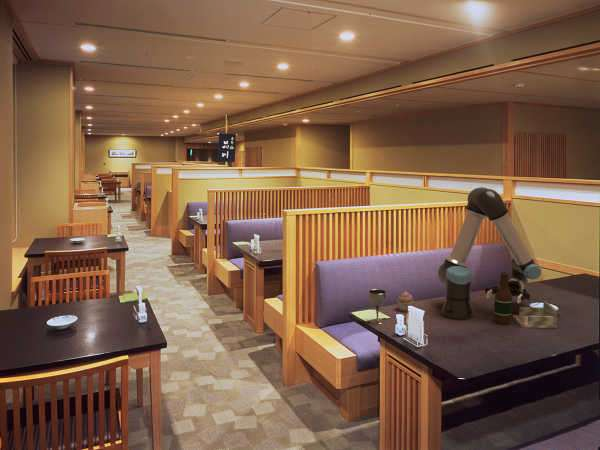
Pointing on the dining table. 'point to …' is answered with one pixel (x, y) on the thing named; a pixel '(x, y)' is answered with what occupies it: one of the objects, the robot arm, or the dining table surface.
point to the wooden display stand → (537, 316)
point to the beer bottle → (503, 302)
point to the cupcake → (405, 301)
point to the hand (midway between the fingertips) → (502, 298)
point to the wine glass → (377, 302)
